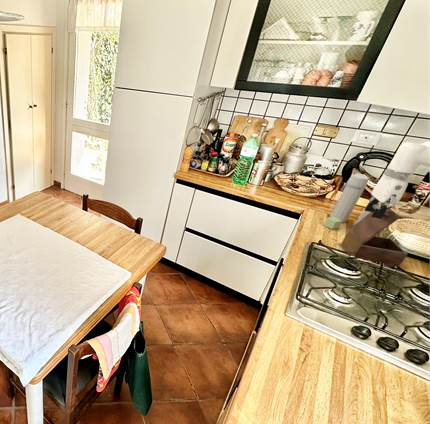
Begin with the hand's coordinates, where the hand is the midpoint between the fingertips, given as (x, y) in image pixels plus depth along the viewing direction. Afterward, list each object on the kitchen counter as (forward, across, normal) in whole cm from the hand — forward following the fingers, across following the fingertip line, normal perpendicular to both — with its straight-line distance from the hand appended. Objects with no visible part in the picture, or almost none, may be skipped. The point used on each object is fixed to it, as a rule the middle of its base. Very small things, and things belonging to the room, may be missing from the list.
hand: (372, 214), depth 129 cm
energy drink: (+20, +27, -14) cm, 36 cm away
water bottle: (+20, +37, -7) cm, 42 cm away
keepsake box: (+20, 0, -7) cm, 21 cm away
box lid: (+5, 0, -2) cm, 5 cm away
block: (+20, +25, -2) cm, 33 cm away
